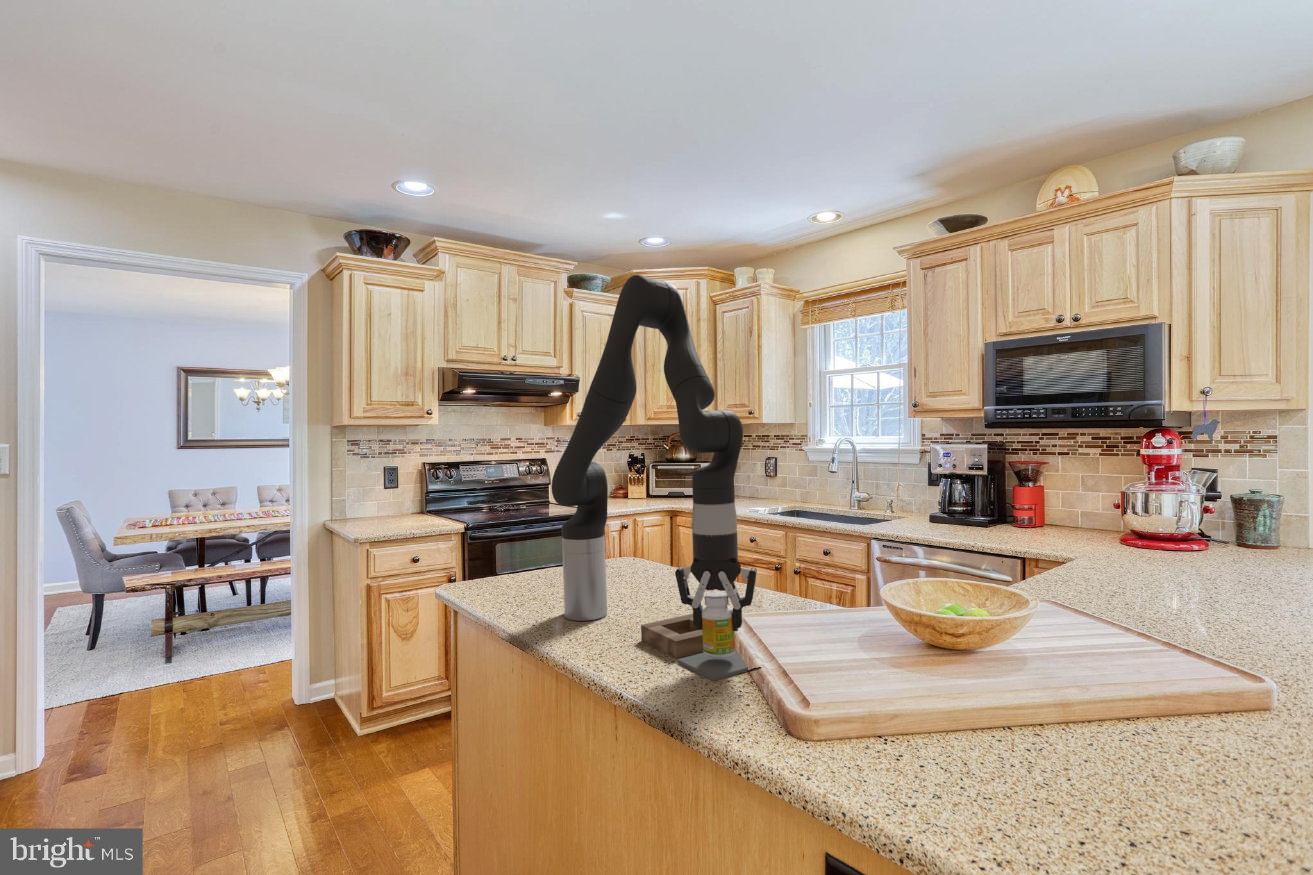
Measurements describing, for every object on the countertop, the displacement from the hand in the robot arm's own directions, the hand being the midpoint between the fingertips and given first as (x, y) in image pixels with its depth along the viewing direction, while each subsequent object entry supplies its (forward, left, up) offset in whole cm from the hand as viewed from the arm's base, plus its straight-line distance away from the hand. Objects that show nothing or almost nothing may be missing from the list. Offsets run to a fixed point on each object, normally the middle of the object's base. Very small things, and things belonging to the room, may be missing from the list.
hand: (717, 628), depth 111 cm
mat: (0, 0, -6) cm, 6 cm away
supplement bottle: (0, 0, -4) cm, 4 cm away
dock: (-13, +2, -6) cm, 14 cm away
